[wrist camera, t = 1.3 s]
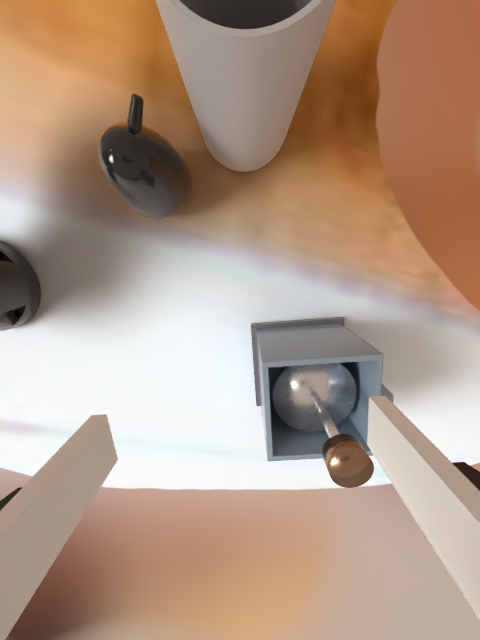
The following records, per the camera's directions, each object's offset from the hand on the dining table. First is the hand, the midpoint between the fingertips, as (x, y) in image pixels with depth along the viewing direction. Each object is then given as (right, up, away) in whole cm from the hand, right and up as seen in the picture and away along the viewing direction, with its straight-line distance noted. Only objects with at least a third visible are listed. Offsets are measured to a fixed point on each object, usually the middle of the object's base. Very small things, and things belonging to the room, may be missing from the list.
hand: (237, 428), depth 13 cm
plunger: (+11, -5, +23) cm, 26 cm away
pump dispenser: (-12, +26, +27) cm, 39 cm away
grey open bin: (+11, -2, +34) cm, 35 cm away
